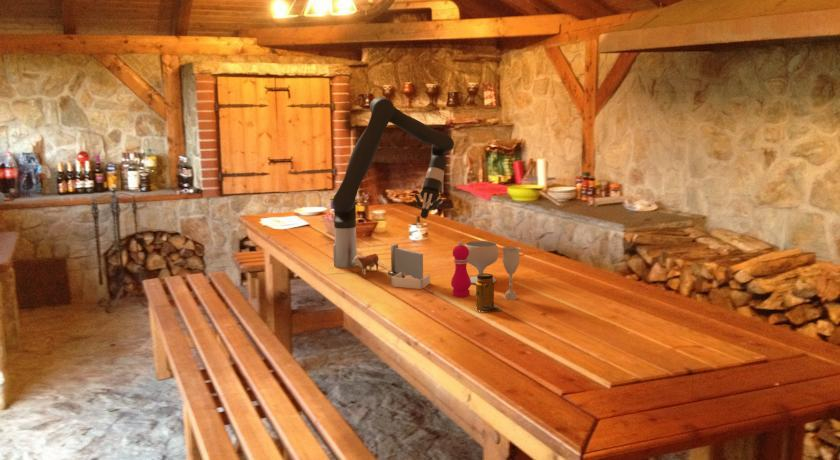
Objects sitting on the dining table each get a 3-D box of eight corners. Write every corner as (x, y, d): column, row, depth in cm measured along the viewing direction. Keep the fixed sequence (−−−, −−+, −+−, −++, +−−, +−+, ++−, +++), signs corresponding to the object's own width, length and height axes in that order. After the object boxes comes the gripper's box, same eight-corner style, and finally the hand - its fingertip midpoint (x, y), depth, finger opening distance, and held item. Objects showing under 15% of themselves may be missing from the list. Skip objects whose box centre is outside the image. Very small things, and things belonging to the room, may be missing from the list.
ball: (402, 286, 274) (401, 276, 273) (406, 283, 278) (405, 273, 277) (411, 287, 272) (410, 277, 272) (415, 283, 276) (415, 274, 275)
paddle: (390, 271, 294) (389, 244, 292) (395, 270, 296) (395, 244, 294) (418, 279, 279) (418, 252, 277) (424, 278, 281) (424, 251, 279)
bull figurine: (351, 275, 293) (350, 255, 292) (374, 269, 303) (374, 250, 301) (358, 276, 290) (357, 257, 289) (382, 270, 300) (381, 251, 298)
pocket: (391, 286, 274) (391, 277, 273) (400, 280, 282) (400, 272, 281) (422, 288, 269) (421, 279, 269) (430, 283, 277) (430, 274, 277)
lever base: (385, 274, 292) (385, 273, 292) (391, 271, 298) (391, 269, 298) (399, 276, 290) (399, 274, 290) (404, 272, 296) (404, 270, 296)
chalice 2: (499, 295, 259) (499, 246, 256) (517, 294, 259) (518, 246, 256) (503, 300, 251) (503, 250, 248) (522, 300, 252) (522, 250, 249)
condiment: (472, 306, 245) (472, 272, 243) (496, 305, 246) (496, 271, 244) (478, 312, 238) (478, 277, 236) (502, 311, 239) (502, 276, 237)
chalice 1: (502, 278, 284) (502, 241, 281) (494, 286, 271) (494, 248, 268) (468, 275, 289) (468, 239, 286) (458, 284, 276) (458, 246, 273)
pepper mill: (469, 298, 256) (469, 243, 252) (449, 297, 257) (449, 242, 254) (472, 292, 263) (472, 239, 259) (452, 292, 264) (452, 239, 261)
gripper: (417, 174, 305) (406, 212, 301) (445, 179, 300) (435, 218, 297) (421, 180, 312) (411, 218, 308) (450, 185, 307) (440, 223, 304)
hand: (423, 218), depth 303 cm, fingers closed
